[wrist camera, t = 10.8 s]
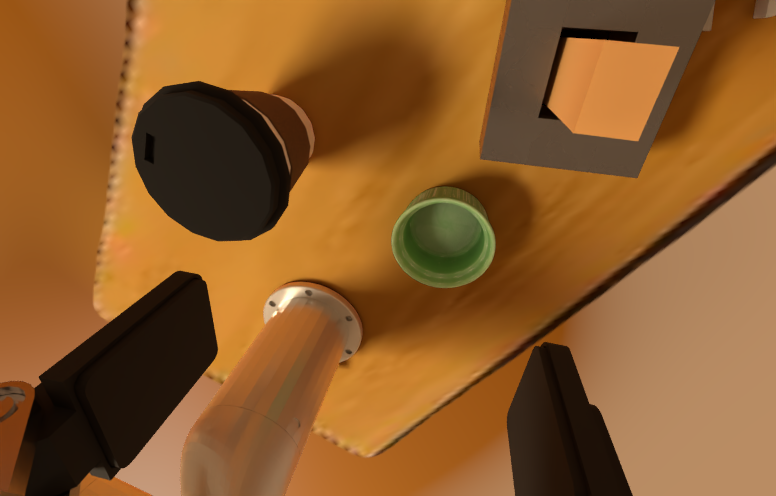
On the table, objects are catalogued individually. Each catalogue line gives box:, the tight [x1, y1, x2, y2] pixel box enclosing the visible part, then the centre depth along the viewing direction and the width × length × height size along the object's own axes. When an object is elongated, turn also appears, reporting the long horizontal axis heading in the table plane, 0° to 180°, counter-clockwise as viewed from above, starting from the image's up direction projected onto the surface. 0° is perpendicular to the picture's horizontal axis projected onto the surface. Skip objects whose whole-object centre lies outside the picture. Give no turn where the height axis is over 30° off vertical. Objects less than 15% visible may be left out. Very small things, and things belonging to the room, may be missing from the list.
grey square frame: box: [479, 0, 715, 178], centre depth 25 cm, size 12×11×5 cm
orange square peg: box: [543, 37, 679, 141], centre depth 22 cm, size 3×4×12 cm
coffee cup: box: [132, 81, 315, 241], centre depth 29 cm, size 11×11×12 cm
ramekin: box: [391, 186, 496, 288], centre depth 33 cm, size 9×9×4 cm
